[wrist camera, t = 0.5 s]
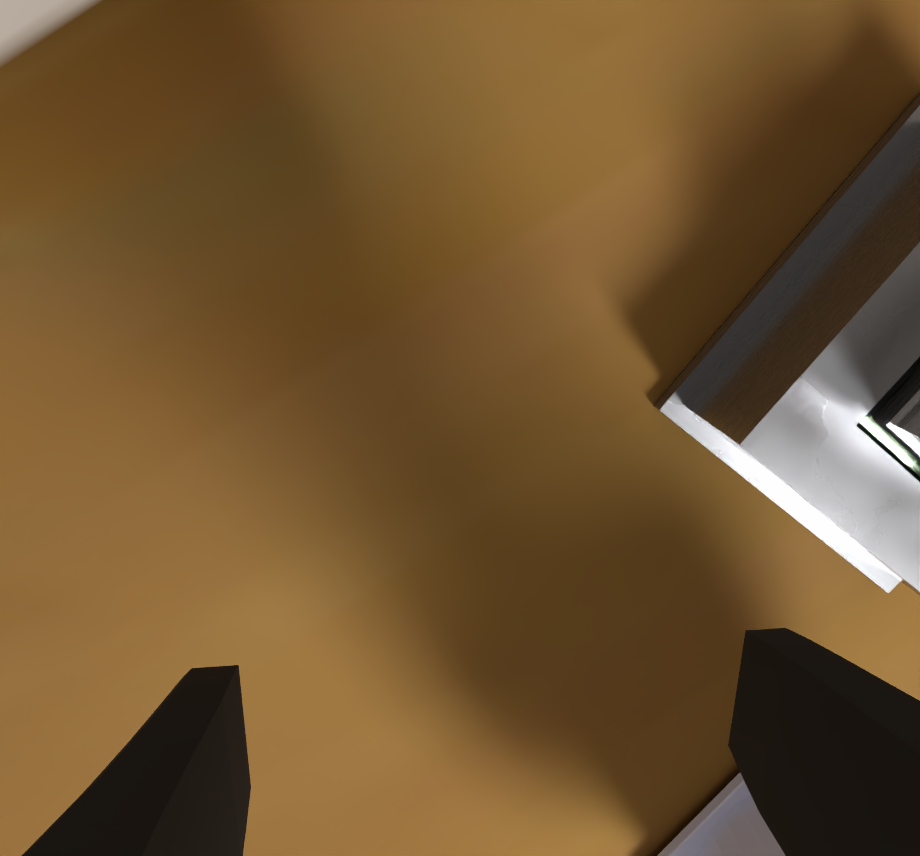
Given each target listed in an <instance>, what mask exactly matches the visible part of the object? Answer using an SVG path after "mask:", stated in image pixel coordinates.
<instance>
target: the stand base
mask: <svg viewBox="0 0 920 856" xmlns="http://www.w3.org/2000/svg"><path fill="white" fill-rule="evenodd" d="M919 357H920V93H919V95H918V96H917V97H916V98H915V99H914V101H913V102H912V103H911V104H910V105H909V106H908V108H907V109H906V110H905V111H904V112H903V113H902V115H901V116H900V117H899V118H898V119H897V120H896V122H895V123H894V124H893V125H892V126H891V128H890V129H889V130H888V131H887V132H886V133H885V135H884V136H883V137H882V138H881V139H880V140H879V142H878V143H877V144H876V145H875V146H874V148H873V149H872V150H871V151H870V152H869V153H868V155H867V156H866V157H865V158H864V159H863V160H862V162H861V163H860V164H859V165H858V166H857V167H856V169H855V170H854V171H853V172H852V173H851V175H850V176H849V177H848V178H847V179H846V180H845V182H844V183H843V184H842V185H841V186H840V187H839V189H838V190H837V191H836V192H835V193H834V195H833V196H832V197H831V198H830V199H829V200H828V202H827V203H826V204H825V205H824V206H823V207H822V209H821V210H820V211H819V212H818V213H817V214H816V216H815V217H814V218H813V219H812V220H811V222H810V223H809V224H808V225H807V226H806V227H805V229H804V230H803V231H802V232H801V233H800V234H799V236H798V237H797V238H796V239H795V240H794V241H793V243H792V244H791V245H790V246H789V247H788V249H787V250H786V251H785V252H784V253H783V254H782V256H781V257H780V258H779V259H778V260H777V261H776V263H775V264H774V265H773V266H772V267H771V269H770V270H769V271H768V272H767V273H766V274H765V276H764V277H763V278H762V279H761V280H760V281H759V283H758V284H757V285H756V286H755V287H754V288H753V290H752V291H751V292H750V293H749V294H748V296H747V297H746V298H745V299H744V300H743V301H742V303H741V304H740V305H739V306H738V307H737V308H736V310H735V311H734V312H733V313H732V314H731V316H730V317H729V318H728V319H727V320H726V321H725V323H724V324H723V325H722V326H721V327H720V328H719V330H718V331H717V332H716V333H715V334H714V335H713V337H712V338H711V339H710V340H709V341H708V343H707V344H706V345H705V346H704V347H703V348H702V350H701V351H700V352H699V353H698V354H697V355H696V357H695V358H694V359H693V360H692V361H691V362H690V364H689V365H688V366H687V367H686V368H685V370H684V371H683V372H682V373H681V374H680V375H679V377H678V378H677V379H676V380H675V381H674V382H673V384H672V385H671V386H670V387H669V388H668V390H667V391H666V392H665V393H664V394H663V395H662V397H661V398H660V399H659V400H658V401H657V402H656V404H655V405H654V406H655V407H656V408H657V409H658V410H660V411H661V412H662V413H663V414H665V415H666V416H667V417H668V418H670V419H671V420H672V421H673V422H675V423H676V424H677V425H678V426H680V427H681V428H682V429H683V430H685V431H686V432H687V433H688V434H690V435H691V436H692V437H693V438H695V439H696V440H697V441H698V442H700V443H701V444H702V445H703V446H705V447H706V448H707V449H708V450H710V451H711V452H712V453H713V454H715V455H716V456H717V457H718V458H720V459H721V460H722V461H723V462H725V463H726V464H727V465H728V466H730V467H731V468H732V469H733V470H735V471H736V472H737V473H738V474H740V475H741V476H742V477H743V478H745V479H746V480H747V481H748V482H750V483H751V484H752V485H753V486H755V487H756V488H757V489H758V490H760V491H761V492H762V493H763V494H765V495H766V496H767V497H768V498H770V499H771V500H772V501H773V502H775V503H776V504H777V505H778V506H780V507H781V508H782V509H783V510H785V511H786V512H787V513H788V514H790V515H791V516H792V517H793V518H795V519H796V520H797V521H798V522H800V523H801V524H802V525H803V526H805V527H806V528H807V529H808V530H810V531H811V532H812V533H814V534H815V535H816V536H817V537H819V538H820V539H821V540H822V541H824V542H825V543H826V544H827V545H829V546H830V547H831V548H832V549H834V550H835V551H836V552H837V553H839V554H840V555H841V556H842V557H844V558H845V559H846V560H847V561H849V562H850V563H851V564H852V565H854V566H855V567H856V568H857V569H859V570H860V571H861V572H862V573H864V574H865V575H866V576H867V577H869V578H870V579H871V580H872V581H874V582H875V583H876V584H877V585H879V586H880V587H881V588H882V589H884V590H885V591H886V592H887V593H889V592H890V591H891V590H892V589H893V588H894V587H895V586H896V585H897V584H898V583H899V582H900V581H901V582H903V583H904V584H905V585H907V586H908V587H909V588H911V589H912V590H913V591H915V592H916V593H917V594H919V595H920V481H918V480H917V479H916V478H914V477H913V476H912V475H911V474H910V473H909V472H908V471H907V470H905V469H904V468H903V467H902V466H901V465H900V464H899V463H898V462H896V461H895V460H894V459H893V458H892V457H891V456H890V455H889V454H887V453H886V452H885V451H884V450H883V449H882V448H881V447H880V446H879V445H877V444H876V443H875V442H874V441H873V440H872V439H871V438H870V437H868V436H867V435H866V434H865V433H864V432H863V431H862V430H861V429H859V428H858V427H857V426H856V425H857V424H858V423H859V422H860V421H861V420H862V419H863V418H864V417H865V416H866V415H867V413H868V412H869V411H870V410H871V409H872V408H873V407H874V406H875V405H876V404H877V403H878V401H879V400H880V399H881V398H882V397H883V396H884V395H885V394H886V393H887V392H888V391H889V390H890V388H891V387H892V386H893V385H894V384H895V383H896V382H897V381H898V380H899V379H900V378H901V376H902V375H903V374H904V373H905V372H906V371H907V370H908V369H909V368H910V367H911V366H912V365H913V363H914V362H915V361H916V360H917V359H918V358H919Z"/></svg>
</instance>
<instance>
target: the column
mask: <svg viewBox="0 0 920 856" xmlns="http://www.w3.org/2000/svg"><path fill="white" fill-rule="evenodd" d="M856 426H857V427H858V428H859V429H861V430H862V431H863V432H864V433H865V434H866V435H867V436H868V437H870V438H871V439H872V440H873V441H874V442H875V443H876V444H877V445H879V446H880V447H881V448H882V449H883V450H884V451H885V452H886V453H887V454H889V455H890V456H891V457H892V458H893V459H894V460H895V461H896V462H898V463H899V464H900V465H901V466H902V467H903V468H904V469H905V470H907V471H908V472H909V473H910V474H911V475H912V476H913V477H914V478H916V479H917V480H918V481H920V357H919V358H918V359H917V360H916V361H915V362H914V363H913V365H912V366H911V367H910V368H909V369H908V370H907V371H906V372H905V373H904V374H903V375H902V376H901V378H900V379H899V380H898V381H897V382H896V383H895V384H894V385H893V386H892V387H891V388H890V390H889V391H888V392H887V393H886V394H885V395H884V396H883V397H882V398H881V399H880V400H879V401H878V403H877V404H876V405H875V406H874V407H873V408H872V409H871V410H870V411H869V412H868V413H867V415H866V416H865V417H864V418H863V419H862V420H861V421H860V422H859V423H858V424H857V425H856Z"/></svg>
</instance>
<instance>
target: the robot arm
mask: <svg viewBox="0 0 920 856" xmlns="http://www.w3.org/2000/svg"><path fill="white" fill-rule="evenodd" d="M728 746H729V748H730V750H731V752H732V755H733V757H734V759H735V761H736V764H737V766H738V768H739V770H740V773H739V774H738V775H737V776H736V777H735V778H734V779H733V780H732V781H731V782H730V783H729V784H728V785H727V786H726V787H725V788H724V789H723V790H722V791H721V792H720V793H719V794H718V795H717V796H716V797H715V798H714V799H713V800H712V801H711V802H710V803H709V804H708V805H707V806H706V807H705V808H704V809H703V810H702V811H701V812H700V813H699V814H698V815H697V816H696V817H695V818H694V819H693V820H692V821H691V822H690V823H689V824H688V825H687V826H686V827H685V828H684V829H683V830H682V831H681V832H680V833H679V834H678V835H677V836H676V837H675V838H674V839H673V840H672V841H671V842H670V843H669V844H668V845H667V846H666V847H665V848H664V849H663V850H662V851H661V852H660V853H659V854H658V855H657V856H920V701H919V700H917V699H916V698H914V697H912V696H910V695H908V694H906V693H905V692H903V691H901V690H899V689H898V688H896V687H894V686H892V685H890V684H889V683H887V682H885V681H883V680H882V679H880V678H878V677H876V676H874V675H873V674H871V673H869V672H867V671H866V670H864V669H862V668H860V667H858V666H857V665H855V664H853V663H851V662H850V661H848V660H846V659H844V658H842V657H841V656H839V655H837V654H835V653H833V652H832V651H830V650H828V649H826V648H824V647H822V646H821V645H819V644H817V643H815V642H813V641H811V640H809V639H807V638H805V637H803V636H801V635H799V634H797V633H795V632H793V631H791V630H789V629H786V628H777V629H762V630H748V631H746V632H745V639H744V645H743V652H742V659H741V665H740V672H739V678H738V685H737V691H736V698H735V705H734V711H733V718H732V724H731V731H730V738H729V744H728ZM250 790H251V784H250V774H249V764H248V754H247V745H246V735H245V725H244V715H243V705H242V695H241V686H240V676H239V666H238V665H234V666H220V667H205V668H192V669H191V670H190V671H189V672H188V673H187V674H186V675H185V676H184V677H183V678H182V679H181V680H180V681H179V683H178V684H177V685H176V686H175V687H174V689H173V690H172V691H171V692H170V693H169V695H168V696H167V697H166V698H165V699H164V701H163V702H162V703H161V704H160V705H159V707H158V708H157V709H156V710H155V711H154V713H153V714H152V715H151V716H150V717H149V719H148V720H147V721H146V722H145V723H144V725H143V726H142V727H141V728H140V729H139V730H138V732H137V733H136V734H135V735H134V736H133V737H132V739H131V740H130V741H129V742H128V743H127V744H126V746H125V747H124V748H123V749H122V750H121V751H120V752H119V753H118V755H117V756H116V757H115V758H114V759H113V760H112V761H111V762H110V763H109V765H108V766H107V767H106V768H105V769H104V770H103V771H102V772H101V774H100V775H99V776H98V777H97V778H96V779H95V780H94V781H93V783H92V784H91V785H90V786H89V787H88V788H87V789H86V790H85V791H84V792H83V793H82V794H81V796H80V797H79V798H78V799H77V800H76V801H75V802H74V803H73V804H72V805H71V806H70V807H69V808H68V809H67V810H66V811H65V812H64V813H63V814H62V815H61V816H60V817H59V818H58V819H57V820H56V821H55V822H54V823H53V824H52V825H51V826H50V827H49V828H48V829H47V830H46V832H45V833H44V834H43V835H42V836H41V837H40V838H39V839H38V840H37V841H36V842H35V843H34V844H33V845H32V846H31V847H30V848H29V849H28V850H27V851H26V852H25V853H24V854H23V855H22V856H243V848H244V841H245V833H246V825H247V816H248V807H249V799H250Z"/></svg>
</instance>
